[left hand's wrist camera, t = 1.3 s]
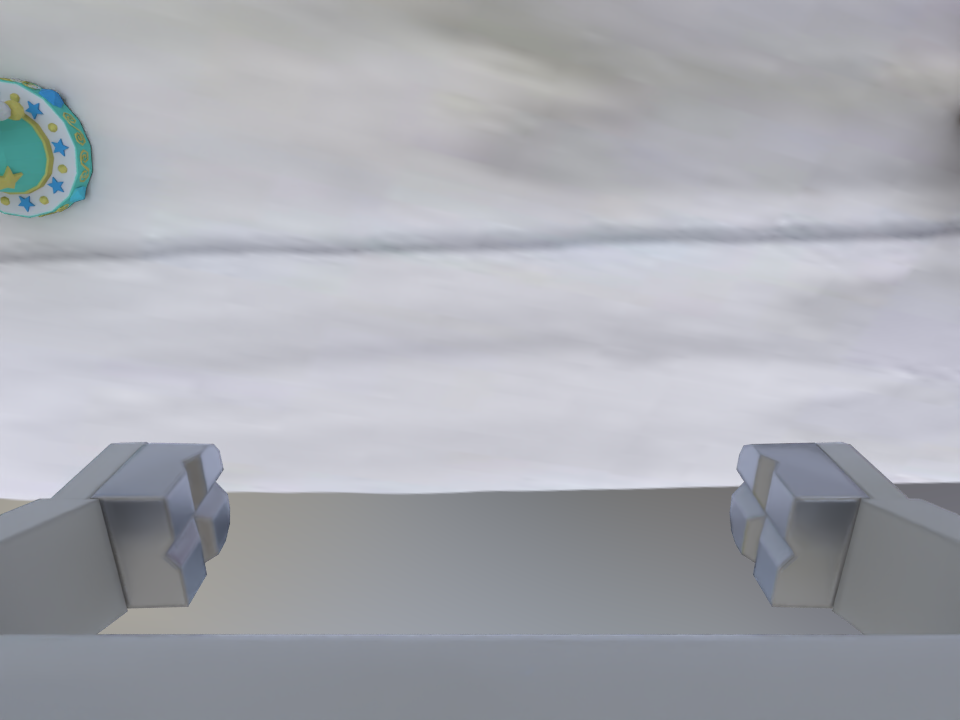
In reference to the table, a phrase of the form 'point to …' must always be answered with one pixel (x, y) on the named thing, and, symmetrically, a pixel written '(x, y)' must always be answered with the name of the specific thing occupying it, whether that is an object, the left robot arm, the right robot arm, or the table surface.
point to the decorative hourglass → (40, 151)
